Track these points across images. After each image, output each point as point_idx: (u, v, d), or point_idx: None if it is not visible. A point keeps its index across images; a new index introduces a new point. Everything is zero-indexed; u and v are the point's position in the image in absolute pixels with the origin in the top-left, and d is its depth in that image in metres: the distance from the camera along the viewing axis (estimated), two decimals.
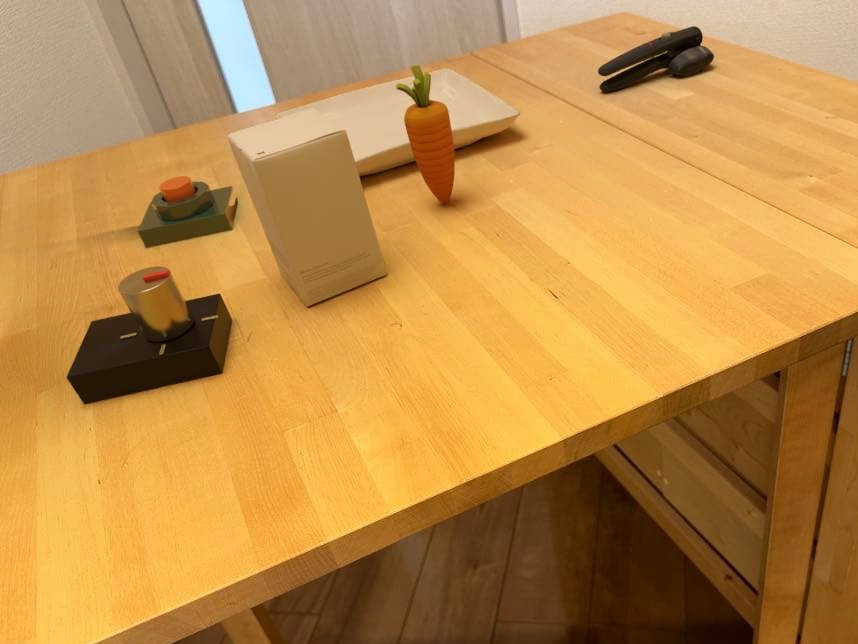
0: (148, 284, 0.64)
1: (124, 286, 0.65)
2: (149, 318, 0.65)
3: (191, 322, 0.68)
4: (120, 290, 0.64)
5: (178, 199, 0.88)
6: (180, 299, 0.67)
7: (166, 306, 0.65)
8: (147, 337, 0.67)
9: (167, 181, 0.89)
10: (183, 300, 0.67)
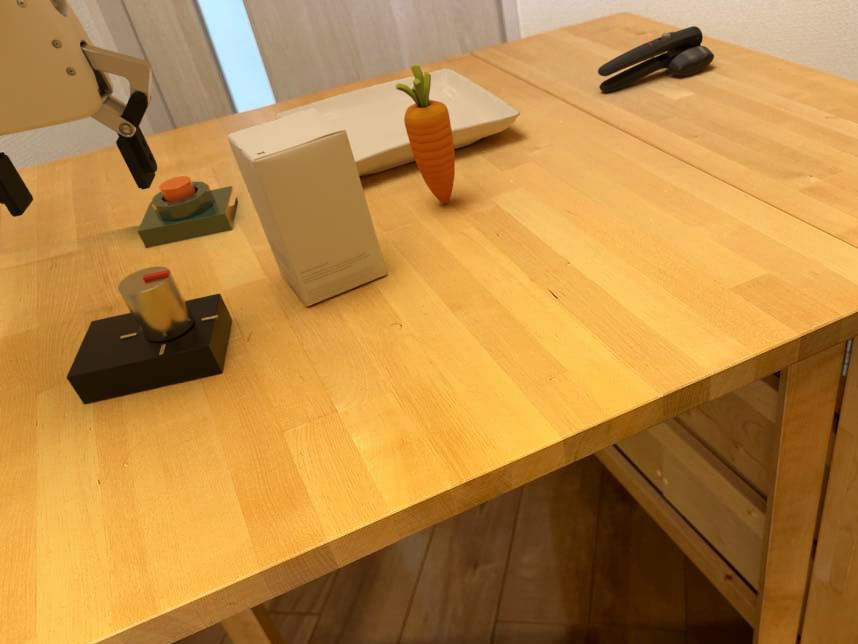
0: (148, 284, 0.64)
1: (124, 286, 0.65)
2: (149, 318, 0.65)
3: (191, 322, 0.68)
4: (120, 290, 0.64)
5: (178, 199, 0.88)
6: (180, 299, 0.67)
7: (166, 306, 0.65)
8: (147, 337, 0.67)
9: (167, 181, 0.89)
10: (183, 300, 0.67)
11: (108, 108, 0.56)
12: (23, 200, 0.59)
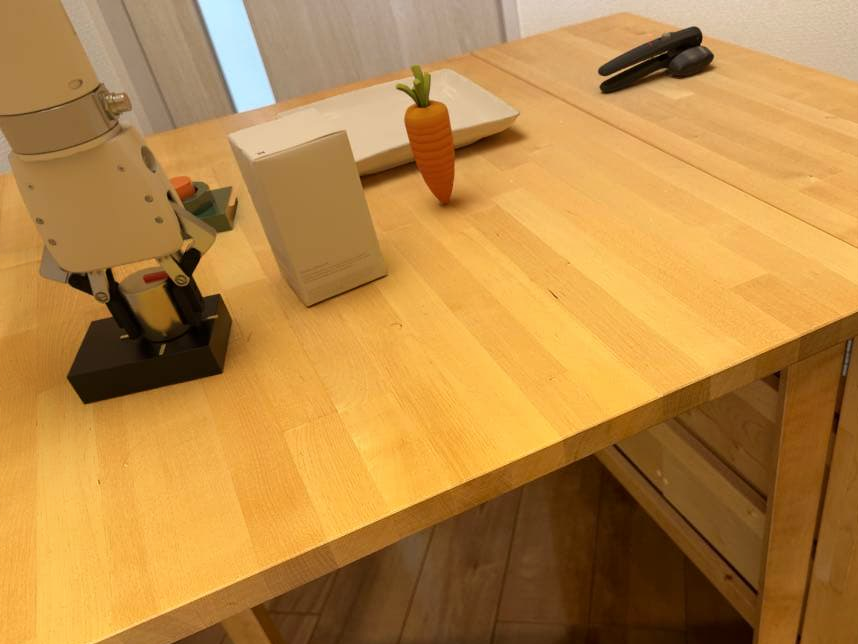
0: (148, 284, 0.64)
1: (124, 287, 0.65)
2: (149, 318, 0.65)
3: None
4: (120, 290, 0.64)
5: None
6: None
7: (166, 306, 0.65)
8: (147, 337, 0.67)
9: None
10: None
11: (175, 261, 0.64)
12: None
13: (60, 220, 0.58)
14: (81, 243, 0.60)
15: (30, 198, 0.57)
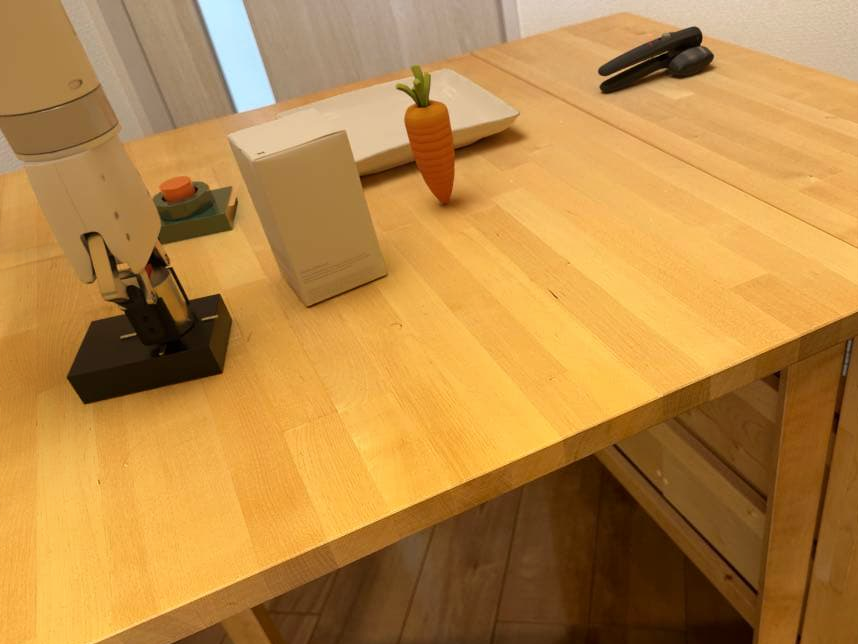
0: (159, 273, 0.66)
1: None
2: (181, 301, 0.67)
3: None
4: (153, 287, 0.64)
5: (178, 199, 0.88)
6: None
7: None
8: (182, 329, 0.67)
9: (167, 181, 0.89)
10: None
11: None
12: None
13: (124, 208, 0.59)
14: (138, 230, 0.60)
15: (105, 191, 0.56)
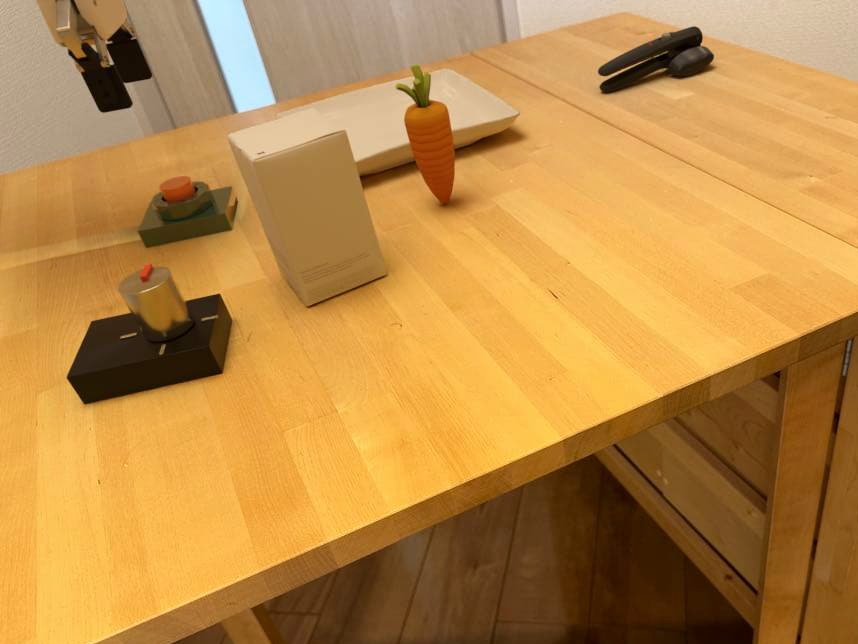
0: (159, 273, 0.66)
1: (147, 287, 0.64)
2: (181, 301, 0.67)
3: None
4: (152, 287, 0.64)
5: (178, 199, 0.88)
6: None
7: None
8: (182, 330, 0.67)
9: (167, 181, 0.89)
10: None
11: None
12: None
13: None
14: (104, 3, 0.73)
15: None
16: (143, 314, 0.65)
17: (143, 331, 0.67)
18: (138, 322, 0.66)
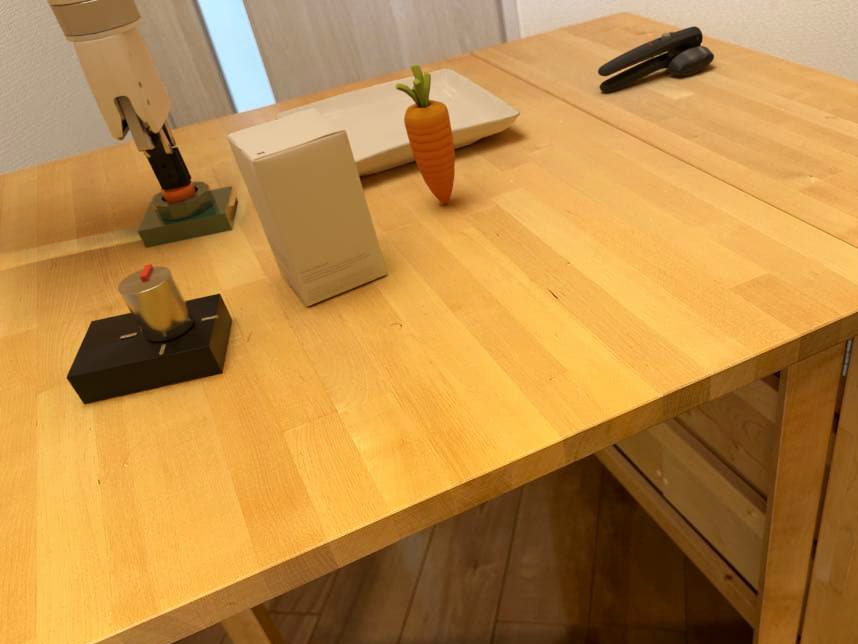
0: (159, 273, 0.66)
1: (147, 287, 0.64)
2: (181, 301, 0.67)
3: None
4: (152, 287, 0.64)
5: None
6: None
7: None
8: (182, 330, 0.67)
9: None
10: None
11: None
12: None
13: (145, 81, 0.79)
14: (155, 101, 0.81)
15: (132, 65, 0.77)
16: (143, 314, 0.65)
17: (143, 331, 0.67)
18: (138, 322, 0.66)
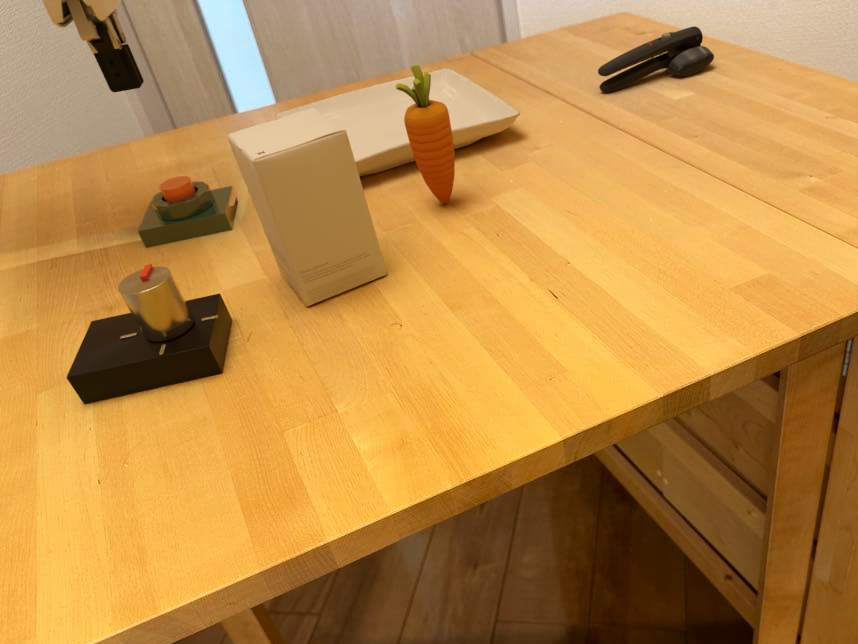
0: (159, 273, 0.66)
1: (147, 287, 0.64)
2: (181, 301, 0.67)
3: None
4: (152, 287, 0.64)
5: (178, 199, 0.88)
6: None
7: None
8: (182, 330, 0.67)
9: (167, 181, 0.89)
10: None
11: None
12: None
13: None
14: None
15: None
16: (143, 314, 0.65)
17: (143, 331, 0.67)
18: (138, 322, 0.66)
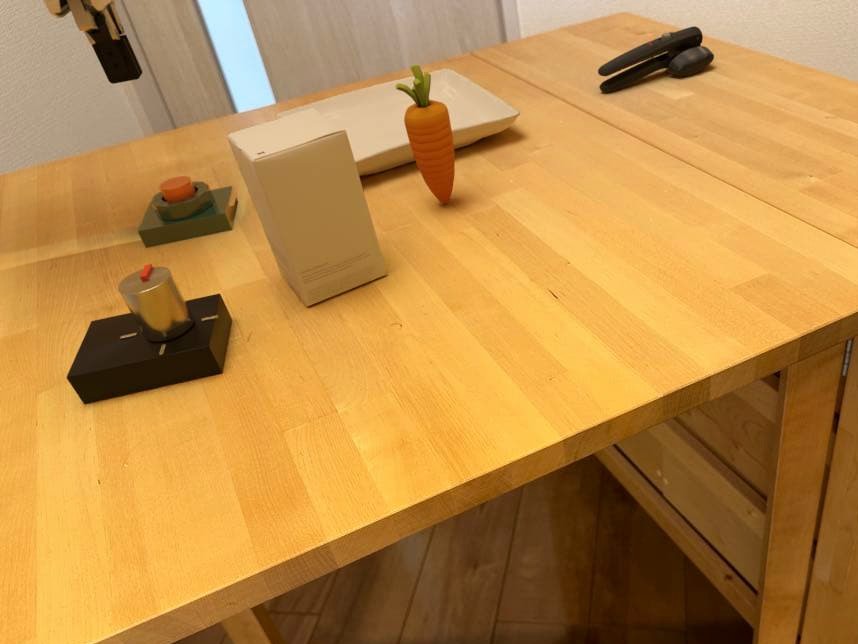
0: (159, 273, 0.66)
1: (147, 287, 0.64)
2: (181, 301, 0.67)
3: None
4: (152, 287, 0.64)
5: (178, 199, 0.88)
6: None
7: None
8: (182, 330, 0.67)
9: (167, 181, 0.89)
10: None
11: None
12: None
13: None
14: None
15: None
16: (143, 314, 0.65)
17: (143, 331, 0.67)
18: (138, 322, 0.66)
